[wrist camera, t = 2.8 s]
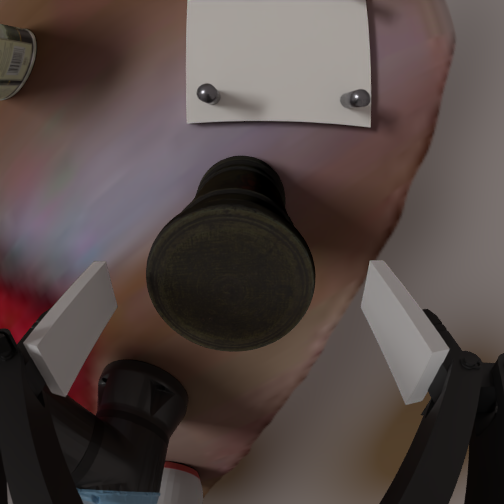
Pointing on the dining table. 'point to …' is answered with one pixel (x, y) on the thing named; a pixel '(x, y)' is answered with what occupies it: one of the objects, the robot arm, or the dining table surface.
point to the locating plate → (278, 61)
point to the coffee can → (15, 59)
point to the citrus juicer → (180, 485)
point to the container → (232, 261)
